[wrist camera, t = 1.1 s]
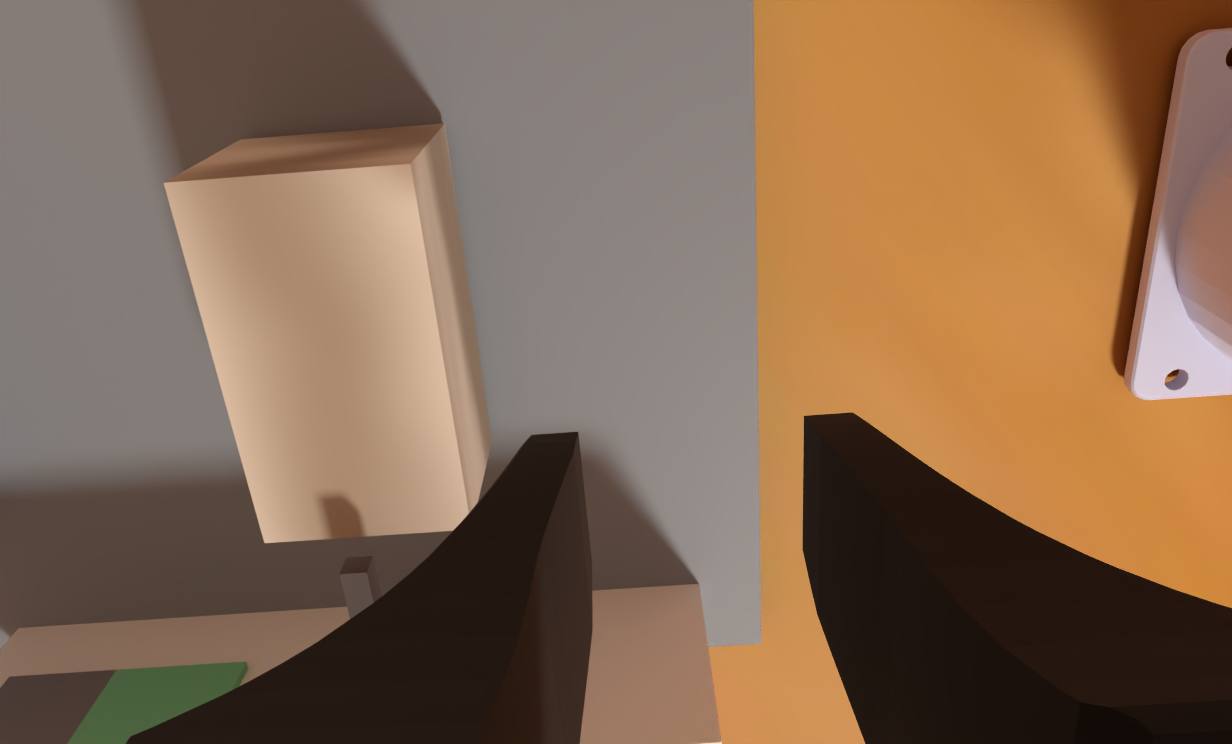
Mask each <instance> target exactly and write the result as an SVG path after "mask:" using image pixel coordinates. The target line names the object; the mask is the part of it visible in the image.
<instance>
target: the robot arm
mask: <svg viewBox="0 0 1232 744" xmlns="http://www.w3.org/2000/svg"><path fill="white" fill-rule="evenodd" d="M1231 48H1232V28H1222V29H1209V30H1205V31H1201V32H1198V33H1196V34H1195V35H1194V36H1192V37H1191V38H1189V39H1188V40H1187V42H1186V43H1185V44H1184V45H1183V47H1182V48H1181V51H1180V54H1179V57H1178V61H1177V67H1176V73H1175V79H1174V85H1173V90H1172V96H1171V102H1170V108H1169V114H1168V120H1167V126H1166V132H1165V138H1164V144H1163V150H1162V156H1161V161H1160V167H1159V173H1158V179H1157V185H1156V191H1155V197H1154V203H1153V209H1152V215H1151V221H1150V227H1149V233H1148V238H1147V244H1146V250H1145V256H1144V262H1143V268H1142V274H1141V280H1140V286H1139V292H1138V298H1137V304H1136V309H1135V315H1134V321H1133V327H1132V333H1131V339H1130V345H1129V351H1128V357H1127V363H1126V369H1125V375H1124V382H1125V385H1126V387H1127V388H1128V390H1129V391H1130V392H1131V393H1133V394H1134V395H1135V396H1137V397H1138V398H1140V399H1144V400H1158V399H1172V398H1187V397H1201V396H1216V395H1230V394H1232V66H1229V67H1228V66H1227V65H1226V56H1227V53H1228V51H1229V49H1231ZM1177 369H1179V372H1178V375H1177V377H1176V378H1174V379H1173V380H1172V381H1170V382H1166V383H1165V379H1166V376H1167V375H1168V374H1169V373H1170V372H1172V371H1174V370H1177ZM803 553H804V557H805V562H806V566H807V571H808V576H809V580H810V585H811V589H812V593H813V598H814V602H815V606H816V610H817V614H818V617H819V620H820V623H821V626H822V628H823V631H824V634H825V637H826V639H827V642H828V645H829V648H830V650H831V653H832V656H833V658H834V661H835V664H836V667H837V669H838V672H839V674H840V677H841V680H842V682H843V685H844V688H845V690H846V693H847V696H848V698H849V701H850V704H851V706H852V709H853V712H854V714H855V717H856V720H857V722H858V725H859V728H860V730H861V733H862V736H863V738H864V741H865V744H1232V608H1229V607H1226V606H1222V605H1219V604H1216V603H1213V602H1210V601H1207V600H1204V599H1201V598H1198V597H1195V596H1192V595H1189V594H1186V593H1183V592H1180V591H1177V590H1174V589H1171V588H1168V587H1166V586H1163V585H1160V584H1158V583H1155V582H1153V581H1150V580H1147V579H1145V578H1142V577H1140V576H1137V575H1134V574H1132V573H1129V572H1126V571H1124V570H1121V569H1119V568H1116V567H1114V566H1111V565H1109V564H1107V563H1104V562H1102V561H1099V560H1097V559H1095V558H1092V557H1090V556H1088V555H1086V554H1083V553H1081V552H1079V551H1077V550H1075V549H1073V548H1071V547H1069V546H1067V545H1065V544H1062V543H1060V542H1058V541H1056V540H1054V539H1052V538H1050V537H1048V536H1046V535H1044V534H1042V533H1039V532H1037V531H1035V530H1034V529H1032V528H1030V527H1028V526H1026V525H1024V524H1022V523H1020V522H1018V521H1017V520H1015V519H1013V518H1011V517H1009V516H1008V515H1006V514H1004V513H1003V512H1001V511H999V510H997V509H996V508H994V507H992V506H991V505H989V504H987V503H986V502H984V501H982V500H980V499H979V498H977V497H975V496H974V495H972V494H970V493H969V492H967V491H966V490H964V489H963V488H961V487H959V486H958V485H956V484H955V483H953V482H952V481H950V480H949V479H947V478H946V477H944V476H942V475H941V474H939V473H938V472H937V471H935V470H934V469H932V468H931V467H929V466H928V465H926V464H925V463H923V462H922V461H921V460H919V459H918V458H916V457H915V456H913V455H912V454H911V453H909V452H908V451H906V450H905V449H904V448H902V447H901V446H899V445H898V444H897V443H895V442H894V441H892V440H891V439H890V438H888V437H887V436H886V435H884V434H883V433H881V432H880V431H879V430H877V429H876V428H874V427H873V426H872V425H870V424H869V423H867V422H866V421H865V420H863V419H862V418H860V417H859V416H857V415H855V414H854V413H840V414H825V415H811V416H804V477H803ZM592 630H593V605H592V558H591V548H590V539H589V529H588V520H587V510H586V500H585V491H584V481H583V472H582V462H581V452H580V443H579V433H578V432H566V433H552V434H537V435H531V436H530V437H529V438H528V439H527V440H526V441H525V442H524V443H523V445H522V446H521V447H520V449H519V450H518V451H517V453H516V454H515V456H514V457H513V458H512V460H511V461H510V462H509V464H508V465H507V466H506V468H505V469H504V470H503V472H502V473H501V474H500V476H499V477H498V478H497V480H496V481H495V482H494V483H493V485H492V486H491V487H490V488H489V490H488V491H487V492H486V493H485V494H484V496H483V497H482V498H481V499H480V501H479V502H478V503H477V504H476V505H475V507H474V508H473V509H472V510H471V511H470V513H469V514H468V515H467V516H466V517H465V518H464V520H463V521H462V522H461V523H460V524H459V525H458V526H457V527H456V528H455V529H454V530H453V531H452V532H451V533H450V534H449V536H448V537H447V538H446V539H445V540H444V541H443V542H442V543H441V544H440V545H439V546H438V547H437V548H436V549H435V550H434V551H433V552H432V553H431V554H430V555H429V556H428V557H427V558H426V559H425V560H424V561H423V562H422V563H421V564H420V565H419V566H417V567H416V568H415V569H414V570H413V571H412V572H411V573H410V574H408V575H407V576H406V577H405V578H404V579H402V580H401V581H400V582H399V583H398V584H396V585H395V586H394V587H393V588H392V589H390V590H389V591H388V592H387V593H386V594H384V595H383V596H382V597H380V598H379V599H378V600H377V601H375V602H374V603H373V604H371V605H370V606H368V607H367V608H365V609H364V610H363V611H361V612H360V613H358V614H357V615H355V616H354V617H353V618H351V619H350V620H348V621H347V622H345V623H344V624H342V625H341V626H340V627H338V628H337V629H335V630H334V631H332V632H331V633H330V634H328V635H327V636H325V637H324V638H322V639H321V640H319V641H318V642H316V643H315V644H313V645H312V646H310V647H308V648H307V649H305V650H303V651H302V652H300V653H298V654H297V655H295V656H293V657H292V658H290V659H288V660H286V661H285V662H283V663H281V664H280V665H278V666H276V667H274V668H272V669H271V670H269V671H267V672H265V673H263V674H261V675H260V676H258V677H256V678H254V679H252V680H251V681H249V682H247V683H245V684H243V685H241V686H239V687H237V688H235V689H233V690H231V691H229V692H227V693H225V694H223V695H221V696H219V697H217V698H215V699H213V700H211V701H208V702H206V703H204V704H202V705H200V706H197V707H195V708H193V709H191V710H189V711H187V712H184V713H182V714H180V715H178V716H176V717H174V718H171V719H169V720H167V721H165V722H163V723H160V724H158V725H156V726H154V727H152V728H149V729H147V730H145V731H142V732H140V733H137V734H135V735H133V736H130V738H129V739H128V741H127V742H126V744H580V736H581V728H582V719H583V710H584V702H585V693H586V685H587V676H588V667H589V658H590V649H591V640H592Z"/></svg>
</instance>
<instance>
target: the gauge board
mask: <svg viewBox="0 0 1232 744" xmlns="http://www.w3.org/2000/svg"><path fill="white" fill-rule="evenodd" d="M444 123H445V127H446V134H447V140H448V147H449V154H450V160H451V167H452V174H453V181H454V187H455V194H456V201H457V207H458V214H459V221H460V228H461V234H462V241H463V248H464V255H465V261H466V268H467V275H468V281H469V288H470V295H471V302H472V308H473V315H474V322H475V328H476V335H477V342H478V349H479V355H480V362H481V369H482V376H483V382H484V389H485V396H486V402H487V409H488V416H489V423H490V429H491V436H492V443H491V447H490V451H489V456H488V460H487V464H486V469H485V473H484V478H483V482H482V486H481V491H480V495H479V499H478V502H479V501H480V499H481V498H482V497H483V496H484V494H485V493H486V492H487V491H488V490H489V488H490V487H491V486H492V485H493V483H494V482H495V481H496V480H497V478H498V477H499V476H500V474H501V473H502V472H503V470H504V469H505V468H506V466H507V465H508V464H509V462H510V461H511V460H512V458H513V457H514V456H515V454H516V453H517V451H518V450H519V449H520V447H521V446H522V445H523V443H524V442H525V441H526V440H527V439H528V438H529V437H530V436H531V435H537V434H552V433H566V432H578V433H579V443H580V452H581V462H582V472H583V481H584V491H585V500H586V510H587V520H588V529H589V539H590V548H591V558H592V605H593V630H592V640H591V649H590V658H589V667H588V676H587V685H586V693H585V702H584V710H583V719H582V728H581V736H580V744H721V736H720V729H719V722H718V715H717V707H716V700H715V693H714V686H713V679H712V671H711V664H710V657H709V650H708V647H716V646H731V645H747V644H761V581H760V500H759V420H758V339H757V259H756V178H755V98H754V17H753V0H0V744H126V742H127V741H128V739H129V738H130V736H133V735H135V734H137V733H140V732H142V731H145V730H147V729H149V728H152V727H154V726H156V725H158V724H160V723H163V722H165V721H167V720H169V719H171V718H174V717H176V716H178V715H180V714H182V713H184V712H187V711H189V710H191V709H193V708H195V707H197V706H200V705H202V704H204V703H206V702H208V701H211V700H213V699H215V698H217V697H219V696H221V695H223V694H225V693H227V692H229V691H231V690H233V689H235V688H237V687H239V686H241V685H243V684H245V683H247V682H249V681H251V680H252V679H254V678H256V677H258V676H260V675H261V674H263V673H265V672H267V671H269V670H271V669H272V668H274V667H276V666H278V665H280V664H281V663H283V662H285V661H286V660H288V659H290V658H292V657H293V656H295V655H297V654H298V653H300V652H302V651H303V650H305V649H307V648H308V647H310V646H312V645H313V644H315V643H316V642H318V641H319V640H321V639H322V638H324V637H325V636H327V635H328V634H330V633H331V632H332V631H334V630H335V629H337V628H338V627H340V626H341V625H342V624H344V623H345V622H347V621H348V620H350V616H349V612H348V608H347V604H346V600H345V596H344V592H343V587H342V583H341V579H340V575H339V574H340V571H341V569H342V567H343V564H344V562H345V560H346V558H349V557H364V556H373V558H374V563H375V567H376V571H377V576H378V580H379V585H380V589H381V594H382V596H383V595H384V594H386V593H387V592H388V591H389V590H390V589H392V588H393V587H394V586H395V585H396V584H398V583H399V582H400V581H401V580H402V579H404V578H405V577H406V576H407V575H408V574H410V573H411V572H412V571H413V570H414V569H415V568H416V567H417V566H419V565H420V564H421V563H422V562H423V561H424V560H425V559H426V558H427V557H428V556H429V555H430V554H431V553H432V552H433V551H434V550H435V549H436V548H437V547H438V546H439V545H440V544H441V543H442V542H443V541H444V540H445V539H446V538H447V537H448V536H449V534H450V533H451V532H452V531H441V532H426V533H411V534H396V535H381V536H367V537H352V538H337V539H322V540H307V541H292V542H277V543H264V540H263V536H262V533H261V529H260V526H259V522H258V518H257V515H256V511H255V508H254V504H253V501H252V497H251V493H250V490H249V486H248V483H247V479H246V476H245V472H244V468H243V465H242V461H241V458H240V454H239V451H238V447H237V443H236V440H235V436H234V433H233V429H232V426H231V422H230V418H229V415H228V411H227V408H226V404H225V401H224V397H223V393H222V390H221V386H220V383H219V379H218V376H217V372H216V368H215V365H214V361H213V358H212V354H211V351H210V347H209V343H208V340H207V336H206V333H205V329H204V326H203V322H202V318H201V315H200V311H199V308H198V304H197V301H196V297H195V293H194V290H193V286H192V283H191V279H190V276H189V272H188V268H187V265H186V261H185V258H184V254H183V250H182V247H181V243H180V240H179V236H178V233H177V229H176V225H175V222H174V218H173V215H172V211H171V208H170V204H169V200H168V197H167V193H166V190H165V186H164V182H166V181H167V180H169V179H171V178H173V177H175V176H176V175H178V174H180V173H182V172H183V171H185V170H187V169H189V168H191V167H192V166H194V165H196V164H198V163H199V162H201V161H203V160H205V159H207V158H208V157H210V156H212V155H214V154H215V153H217V152H219V151H221V150H223V149H224V148H226V147H228V146H230V145H231V144H233V143H235V142H237V141H238V140H240V139H252V138H264V137H277V136H290V135H303V134H316V133H329V132H342V131H354V130H367V129H380V128H393V127H406V126H419V125H432V124H444Z"/></svg>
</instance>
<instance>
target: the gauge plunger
mask: <svg viewBox="0 0 1232 744" xmlns="http://www.w3.org/2000/svg"><path fill="white" fill-rule="evenodd" d="M164 186H165V190H166V193H167V197H168V200H169V204H170V208H171V211H172V215H173V218H174V222H175V225H176V229H177V233H178V236H179V240H180V243H181V247H182V250H183V254H184V258H185V261H186V265H187V268H188V272H189V276H190V279H191V283H192V286H193V290H194V293H195V297H196V301H197V304H198V308H199V311H200V315H201V318H202V322H203V326H204V329H205V333H206V336H207V340H208V343H209V347H210V351H211V354H212V358H213V361H214V365H215V368H216V372H217V376H218V379H219V383H220V386H221V390H222V393H223V397H224V401H225V404H226V408H227V411H228V415H229V418H230V422H231V426H232V429H233V433H234V436H235V440H236V443H237V447H238V451H239V454H240V458H241V461H242V465H243V468H244V472H245V476H246V479H247V483H248V486H249V490H250V493H251V497H252V501H253V504H254V508H255V511H256V515H257V518H258V522H259V526H260V529H261V533H262V536H263V540H264V543H277V542H292V541H307V540H322V539H337V538H352V537H367V536H381V535H396V534H411V533H426V532H441V531H453V530H454V529H455V528H456V527H457V526H458V525H459V524H460V523H461V522H462V521H463V520H464V518H465V517H466V516H467V515H468V514H469V513H470V511H471V510H472V509H473V508H474V507H475V505H476V504H477V503H478V499H479V495H480V491H481V486H482V482H483V478H484V473H485V469H486V464H487V460H488V456H489V451H490V447H491V443H492V436H491V429H490V423H489V416H488V409H487V402H486V396H485V389H484V382H483V376H482V369H481V362H480V355H479V349H478V342H477V335H476V328H475V322H474V315H473V308H472V302H471V295H470V288H469V281H468V275H467V268H466V261H465V255H464V248H463V241H462V234H461V228H460V221H459V214H458V207H457V201H456V194H455V187H454V181H453V174H452V167H451V160H450V154H449V147H448V140H447V134H446V127H445V123H444V124H432V125H419V126H406V127H393V128H380V129H367V130H354V131H342V132H329V133H316V134H303V135H290V136H277V137H264V138H252V139H240V140H238V141H237V142H235V143H233V144H231V145H230V146H228V147H226V148H224V149H223V150H221V151H219V152H217V153H215V154H214V155H212V156H210V157H208V158H207V159H205V160H203V161H201V162H199V163H198V164H196V165H194V166H192V167H191V168H189V169H187V170H185V171H183V172H182V173H180V174H178V175H176V176H175V177H173V178H171V179H169V180H167V181H166V182H164ZM339 575H340V579H341V583H342V587H343V592H344V596H345V600H346V604H347V608H348V612H349V616H350V619H351V618H353V617H354V616H355V615H357V614H358V613H360V612H361V611H363V610H364V609H365V608H367V607H368V606H370V605H371V604H373V603H374V602H375V601H377V600H378V599H379V598H380V597H382V594H381V589H380V585H379V580H378V576H377V571H376V567H375V563H374V558H373V556H364V557H349V558H346V560H345V562H344V564H343V567H342V569H341V571H340V574H339Z"/></svg>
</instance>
